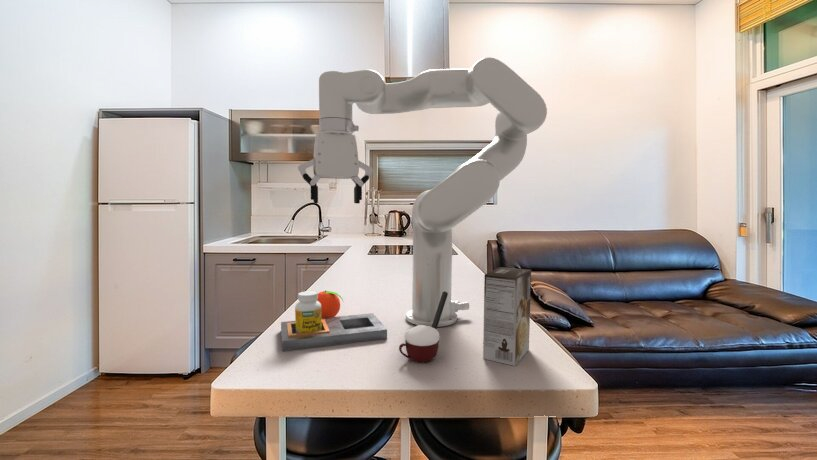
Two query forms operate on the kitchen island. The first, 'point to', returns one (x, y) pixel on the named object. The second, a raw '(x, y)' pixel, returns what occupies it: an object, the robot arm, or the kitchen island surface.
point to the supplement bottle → (308, 312)
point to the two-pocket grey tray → (334, 332)
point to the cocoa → (424, 338)
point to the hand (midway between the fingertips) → (336, 203)
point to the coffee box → (506, 315)
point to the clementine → (329, 303)
